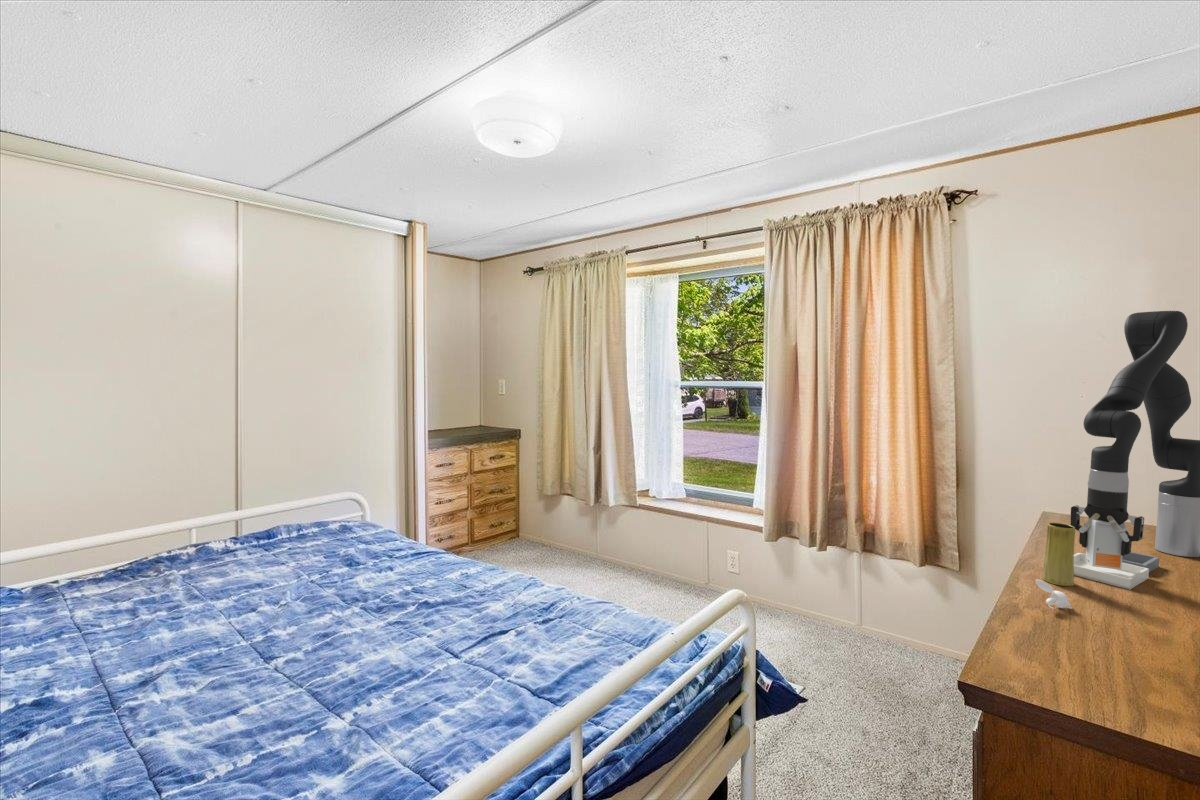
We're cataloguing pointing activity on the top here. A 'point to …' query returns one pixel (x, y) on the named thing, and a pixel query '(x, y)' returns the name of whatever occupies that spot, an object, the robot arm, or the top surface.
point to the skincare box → (1104, 545)
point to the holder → (1141, 560)
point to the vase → (1059, 555)
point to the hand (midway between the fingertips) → (1104, 550)
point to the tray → (1110, 573)
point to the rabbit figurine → (1054, 596)
